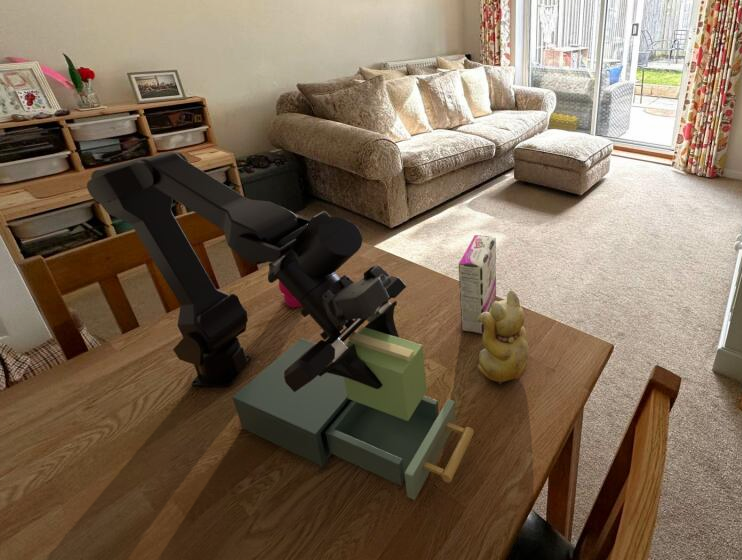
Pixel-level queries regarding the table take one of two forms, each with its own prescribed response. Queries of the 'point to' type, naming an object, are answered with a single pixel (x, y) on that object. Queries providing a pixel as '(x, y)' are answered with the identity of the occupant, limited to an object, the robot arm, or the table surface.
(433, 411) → the drawer
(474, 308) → the candy bar box
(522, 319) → the decorative figurine
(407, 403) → the snack bag
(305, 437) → the cabinet
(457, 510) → the table surface
